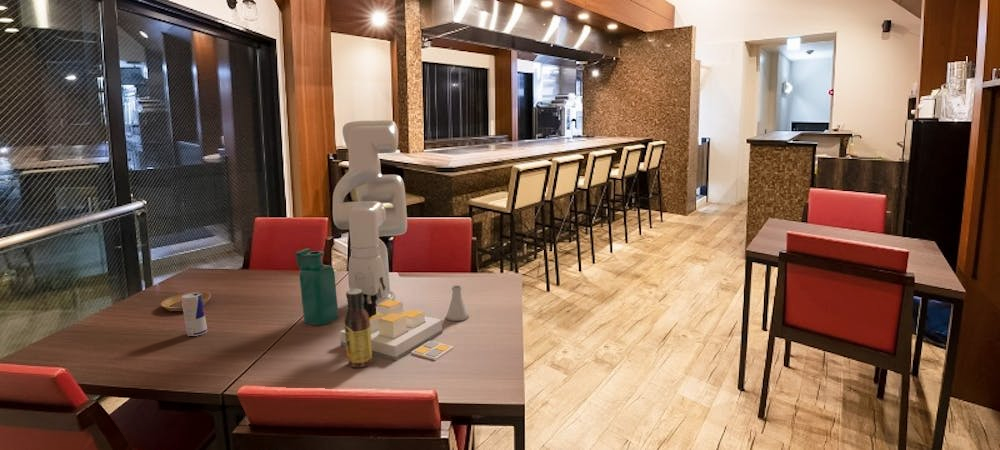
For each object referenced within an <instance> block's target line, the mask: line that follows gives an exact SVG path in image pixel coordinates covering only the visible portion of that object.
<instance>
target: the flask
mask: <svg viewBox="0 0 1000 450" xmlns="http://www.w3.org/2000/svg"><path fill="white" fill-rule="evenodd" d="M462 288H463V287H462V285H459V284H457V285H451V290H452V295H451V300H450V304H449V307H448V310H447V313H446V320H447V321H453V322H459V321H460V322H461V321H465V320H467V319H468V318H470V315H469V311H468V310H467V309H468V308H467V307H466V305H465V302H464V299H463V297H462Z"/></svg>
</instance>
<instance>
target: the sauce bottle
mask: <svg viewBox="0 0 1000 450" xmlns="http://www.w3.org/2000/svg"><path fill="white" fill-rule="evenodd" d="M345 295H346V299H347V310H346V314H345V318H344V321H343V323H344V324H343V325H344V329H345V337H346V346H345V348H346V355H347V356H346V357H347V362H348V365H349V366H350V367H352V368H364V367H368V366H370V364H372V362H373V354H372V344H371V331H370V323H369V315H368V313H367V311H366V310H365V309H364V308H363V306H364V305H363V290H361V289H351V290H350V289H349V290H347V291H346V292H345Z"/></svg>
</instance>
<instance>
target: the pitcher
mask: <svg viewBox="0 0 1000 450" xmlns="http://www.w3.org/2000/svg"><path fill="white" fill-rule="evenodd" d="M294 254H295V259H296V264H297V266H298V269H299V270H300V271H299V273H298V275H299V276H298V277H299V285H300V286H299V287H300V295H301V307H302V314H303V315H302V316H303V322H304V323H306V324H309V325H314V326H325V325H328V324H329V323H331V322H333V321H335V320H336V319H338V318H339V308H338V299H337V287H336V286H337V285H336V275H335V269H334V267H333V266H331V265H329V264H324V263H323V260H322V259H323V258H322V256H324V255H325V251H322V250H314V251H312V249H311V248H305V249H302V250H300V251H296V252H295V253H294Z"/></svg>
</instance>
